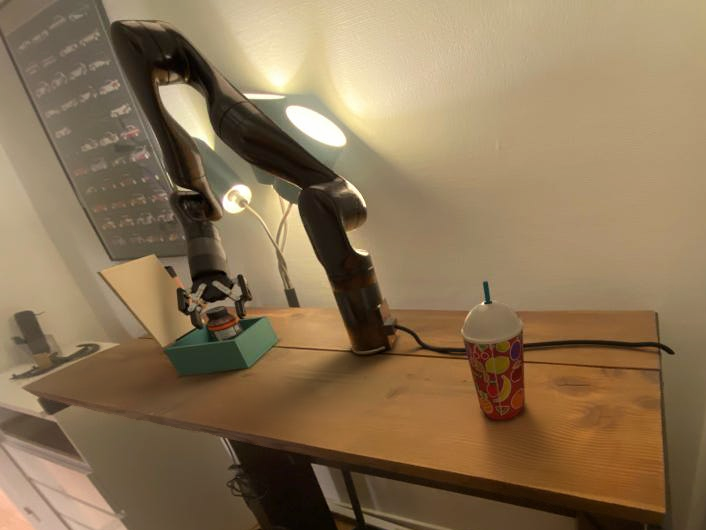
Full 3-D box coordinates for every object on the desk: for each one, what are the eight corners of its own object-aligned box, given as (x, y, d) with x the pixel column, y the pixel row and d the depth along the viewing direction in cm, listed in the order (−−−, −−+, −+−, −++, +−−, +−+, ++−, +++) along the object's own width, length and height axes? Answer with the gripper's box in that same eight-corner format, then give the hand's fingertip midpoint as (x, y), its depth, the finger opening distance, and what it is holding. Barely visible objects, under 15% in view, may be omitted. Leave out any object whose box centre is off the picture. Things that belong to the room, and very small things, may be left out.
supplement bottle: (226, 352, 90) (202, 308, 85) (253, 344, 92) (231, 301, 87) (222, 362, 85) (197, 316, 80) (250, 354, 87) (228, 309, 82)
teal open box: (278, 340, 94) (267, 315, 91) (248, 367, 83) (234, 340, 79) (217, 348, 96) (204, 323, 92) (179, 376, 84) (162, 349, 81)
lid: (154, 253, 84) (136, 260, 85) (99, 271, 72) (79, 278, 73) (204, 321, 92) (188, 327, 93) (163, 347, 80) (144, 353, 81)
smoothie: (473, 397, 60) (451, 277, 51) (524, 389, 60) (512, 267, 51) (478, 431, 53) (453, 298, 43) (536, 421, 53) (524, 286, 43)
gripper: (163, 260, 82) (174, 324, 78) (233, 246, 86) (247, 307, 82) (183, 278, 89) (194, 338, 85) (247, 264, 93) (261, 321, 89)
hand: (220, 323), depth 83 cm, fingers open, 8 cm apart
